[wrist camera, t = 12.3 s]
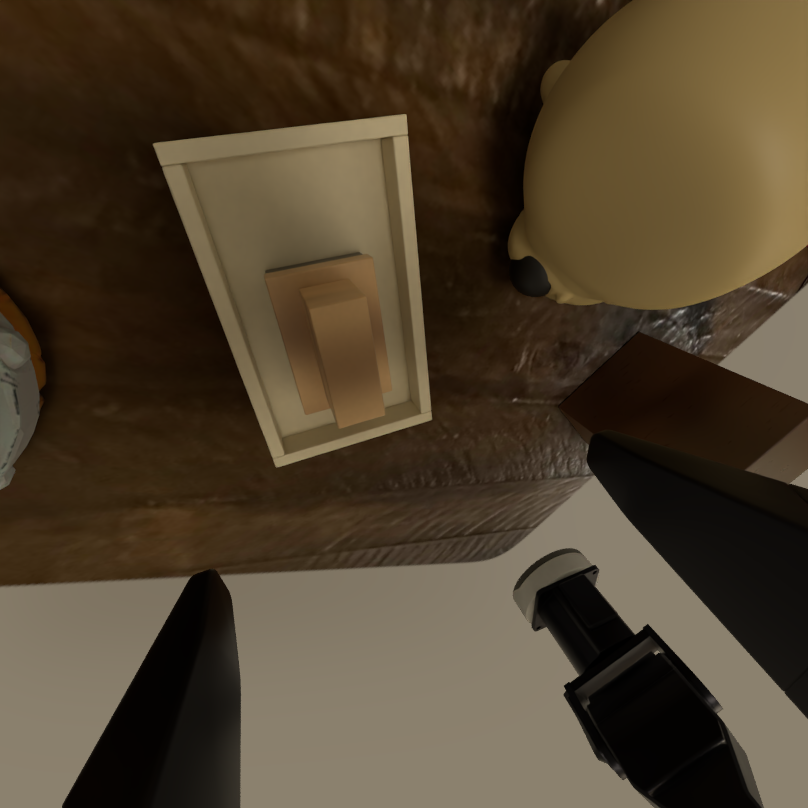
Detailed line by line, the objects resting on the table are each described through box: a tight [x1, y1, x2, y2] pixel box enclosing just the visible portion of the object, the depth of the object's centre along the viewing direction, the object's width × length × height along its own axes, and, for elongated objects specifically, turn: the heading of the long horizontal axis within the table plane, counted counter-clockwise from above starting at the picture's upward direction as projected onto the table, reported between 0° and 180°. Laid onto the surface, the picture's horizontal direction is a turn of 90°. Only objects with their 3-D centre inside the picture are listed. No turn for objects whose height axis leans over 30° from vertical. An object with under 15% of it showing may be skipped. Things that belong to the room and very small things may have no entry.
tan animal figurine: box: [508, 0, 808, 310], centre depth 15 cm, size 10×12×11 cm
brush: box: [264, 252, 392, 429], centre depth 17 cm, size 6×4×4 cm
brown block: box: [559, 332, 808, 484], centre depth 24 cm, size 7×5×10 cm
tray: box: [153, 114, 432, 467], centre depth 17 cm, size 13×8×2 cm, turn 7°
